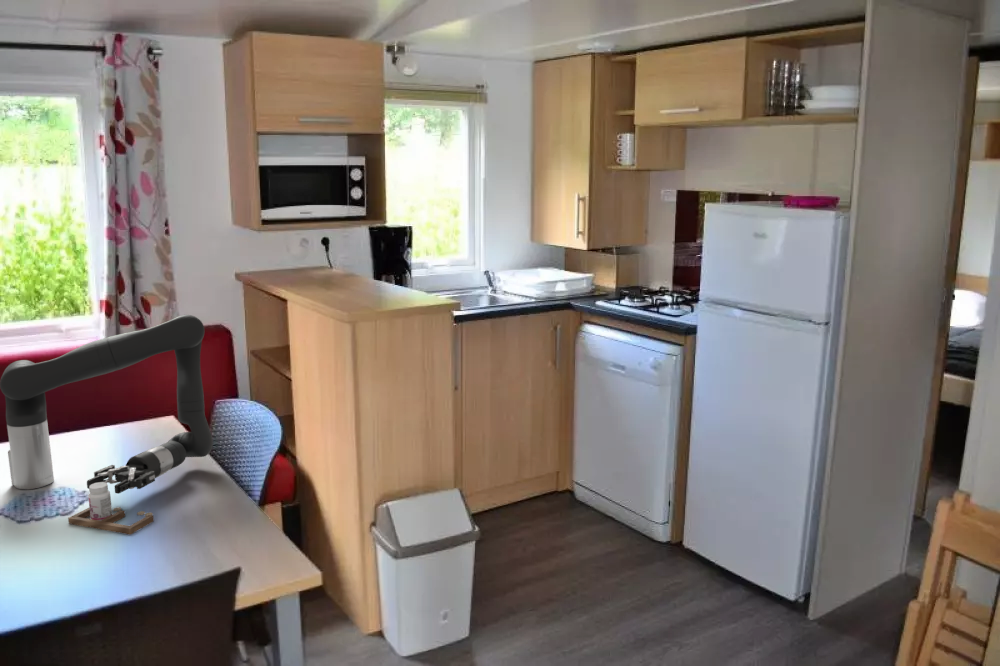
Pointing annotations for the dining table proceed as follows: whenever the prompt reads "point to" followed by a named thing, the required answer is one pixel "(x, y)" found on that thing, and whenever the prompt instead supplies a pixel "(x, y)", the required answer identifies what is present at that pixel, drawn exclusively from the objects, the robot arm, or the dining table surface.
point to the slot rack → (111, 521)
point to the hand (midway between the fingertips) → (101, 487)
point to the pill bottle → (99, 501)
